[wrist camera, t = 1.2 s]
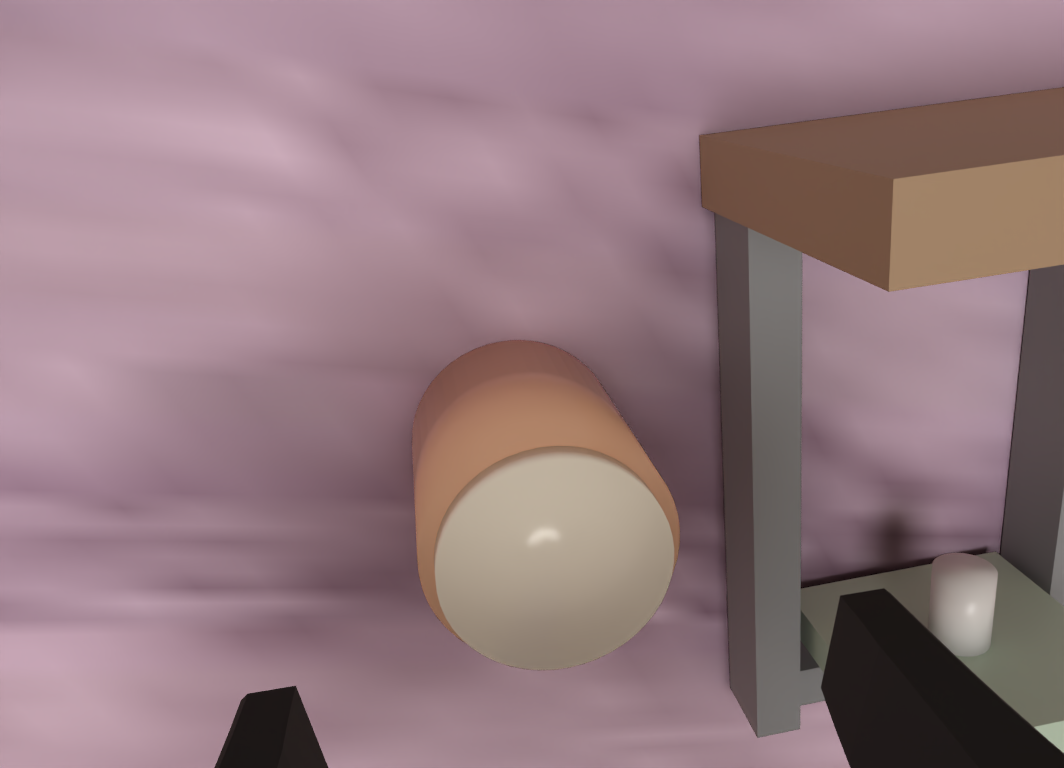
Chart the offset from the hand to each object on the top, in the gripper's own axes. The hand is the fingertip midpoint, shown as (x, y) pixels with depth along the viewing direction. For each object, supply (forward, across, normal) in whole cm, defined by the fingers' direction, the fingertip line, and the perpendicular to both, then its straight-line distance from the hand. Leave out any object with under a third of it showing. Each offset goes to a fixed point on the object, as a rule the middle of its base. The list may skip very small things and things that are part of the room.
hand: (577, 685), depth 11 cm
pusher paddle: (+8, -10, +8) cm, 15 cm away
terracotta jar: (+10, 0, +3) cm, 10 cm away
